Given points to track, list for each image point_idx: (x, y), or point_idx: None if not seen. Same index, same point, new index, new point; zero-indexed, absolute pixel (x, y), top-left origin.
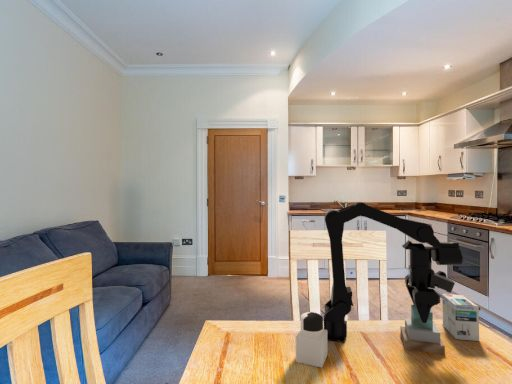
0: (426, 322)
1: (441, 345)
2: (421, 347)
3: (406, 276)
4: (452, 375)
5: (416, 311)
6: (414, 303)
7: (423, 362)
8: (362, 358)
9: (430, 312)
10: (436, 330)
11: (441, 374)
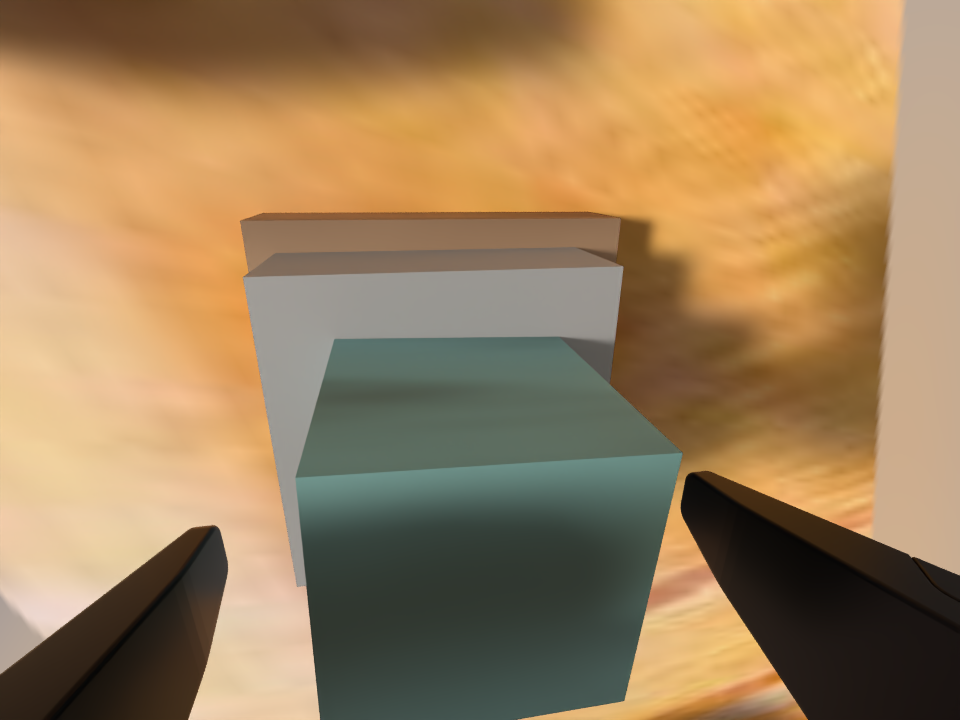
0: (709, 472)
1: (614, 246)
2: None
3: None
4: (851, 233)
5: (626, 658)
6: (182, 710)
7: (718, 379)
8: (708, 645)
9: (667, 484)
10: (559, 295)
11: (840, 298)
